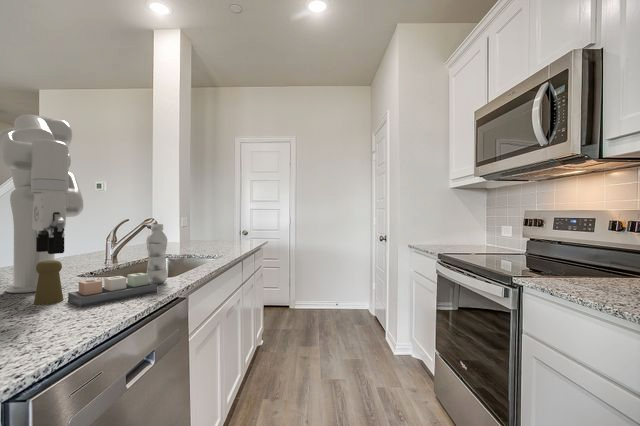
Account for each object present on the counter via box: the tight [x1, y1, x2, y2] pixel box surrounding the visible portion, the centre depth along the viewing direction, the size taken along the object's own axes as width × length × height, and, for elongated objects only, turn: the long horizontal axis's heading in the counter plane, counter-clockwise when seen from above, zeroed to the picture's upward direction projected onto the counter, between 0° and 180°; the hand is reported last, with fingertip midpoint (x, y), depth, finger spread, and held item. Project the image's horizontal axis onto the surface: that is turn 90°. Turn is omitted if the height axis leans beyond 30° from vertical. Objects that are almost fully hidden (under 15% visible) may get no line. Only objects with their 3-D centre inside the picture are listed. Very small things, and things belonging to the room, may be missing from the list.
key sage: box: [126, 272, 148, 287], centre depth 94 cm, size 4×4×3 cm
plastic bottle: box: [145, 223, 168, 285], centre depth 106 cm, size 6×7×20 cm
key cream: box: [103, 275, 127, 291], centre depth 89 cm, size 4×4×3 cm
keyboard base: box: [67, 282, 158, 309], centre depth 89 cm, size 9×19×2 cm, turn 145°
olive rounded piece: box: [33, 259, 64, 306], centre depth 84 cm, size 6×6×11 cm
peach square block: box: [78, 278, 103, 295], centre depth 84 cm, size 4×4×3 cm
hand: (50, 252), depth 83 cm, fingers open, 9 cm apart
